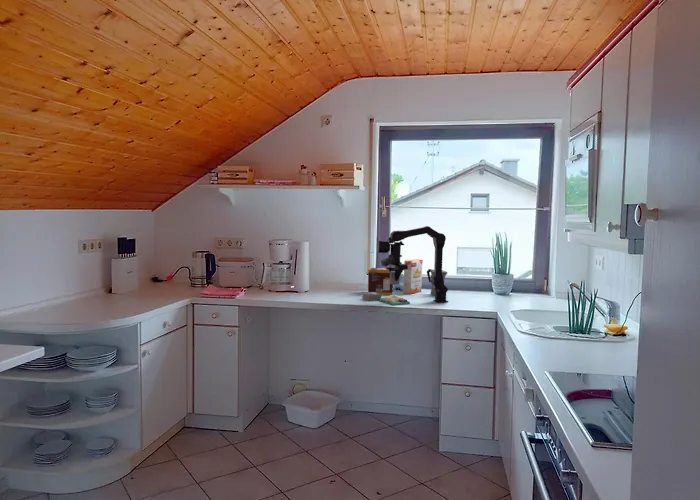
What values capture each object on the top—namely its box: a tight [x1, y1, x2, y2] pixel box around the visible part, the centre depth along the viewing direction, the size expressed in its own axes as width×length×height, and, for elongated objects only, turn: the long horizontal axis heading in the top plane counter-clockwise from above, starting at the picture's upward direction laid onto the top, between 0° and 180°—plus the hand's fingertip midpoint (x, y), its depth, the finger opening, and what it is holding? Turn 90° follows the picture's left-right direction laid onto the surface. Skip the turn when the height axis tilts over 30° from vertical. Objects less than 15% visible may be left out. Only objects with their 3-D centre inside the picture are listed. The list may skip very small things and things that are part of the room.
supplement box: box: [367, 267, 394, 296], centre depth 316 cm, size 10×15×16 cm
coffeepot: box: [426, 268, 448, 297], centre depth 313 cm, size 15×9×18 cm, turn 44°
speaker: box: [361, 291, 382, 302], centre depth 295 cm, size 8×8×4 cm
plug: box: [390, 271, 400, 286], centre depth 287 cm, size 4×5×7 cm
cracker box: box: [402, 258, 424, 295], centre depth 320 cm, size 14×6×21 cm, turn 143°
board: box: [378, 293, 411, 306], centre depth 288 cm, size 16×11×3 cm
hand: (394, 280), depth 288 cm, fingers closed on plug, 4 cm apart
